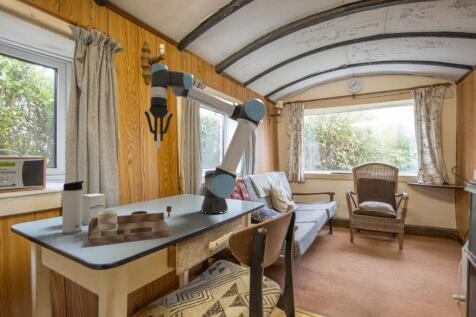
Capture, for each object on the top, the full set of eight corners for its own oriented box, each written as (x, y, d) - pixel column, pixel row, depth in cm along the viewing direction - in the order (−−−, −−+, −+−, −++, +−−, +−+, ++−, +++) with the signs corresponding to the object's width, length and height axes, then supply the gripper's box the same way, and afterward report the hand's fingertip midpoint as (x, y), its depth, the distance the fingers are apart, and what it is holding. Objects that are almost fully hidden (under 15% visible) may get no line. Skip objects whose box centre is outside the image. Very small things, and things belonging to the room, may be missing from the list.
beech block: (117, 224, 95) (117, 210, 95) (115, 229, 90) (116, 213, 90) (100, 226, 93) (100, 211, 93) (97, 230, 87) (98, 214, 87)
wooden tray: (163, 224, 105) (163, 212, 105) (169, 236, 89) (169, 222, 89) (92, 231, 94) (92, 217, 94) (84, 246, 78) (84, 229, 78)
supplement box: (88, 225, 102) (88, 196, 102) (79, 222, 106) (80, 194, 106) (105, 221, 109) (105, 194, 109) (96, 219, 113) (97, 192, 113)
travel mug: (82, 233, 92) (83, 181, 92) (61, 235, 88) (62, 182, 88) (83, 229, 97) (84, 180, 97) (63, 231, 94) (64, 180, 94)
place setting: (130, 218, 117) (130, 206, 117) (172, 217, 121) (172, 205, 121) (120, 228, 100) (120, 214, 100) (169, 226, 104) (169, 213, 104)
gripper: (171, 101, 118) (171, 148, 118) (143, 98, 112) (142, 147, 112) (174, 98, 111) (173, 148, 111) (144, 94, 105) (143, 147, 105)
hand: (158, 148), depth 111 cm, fingers closed
